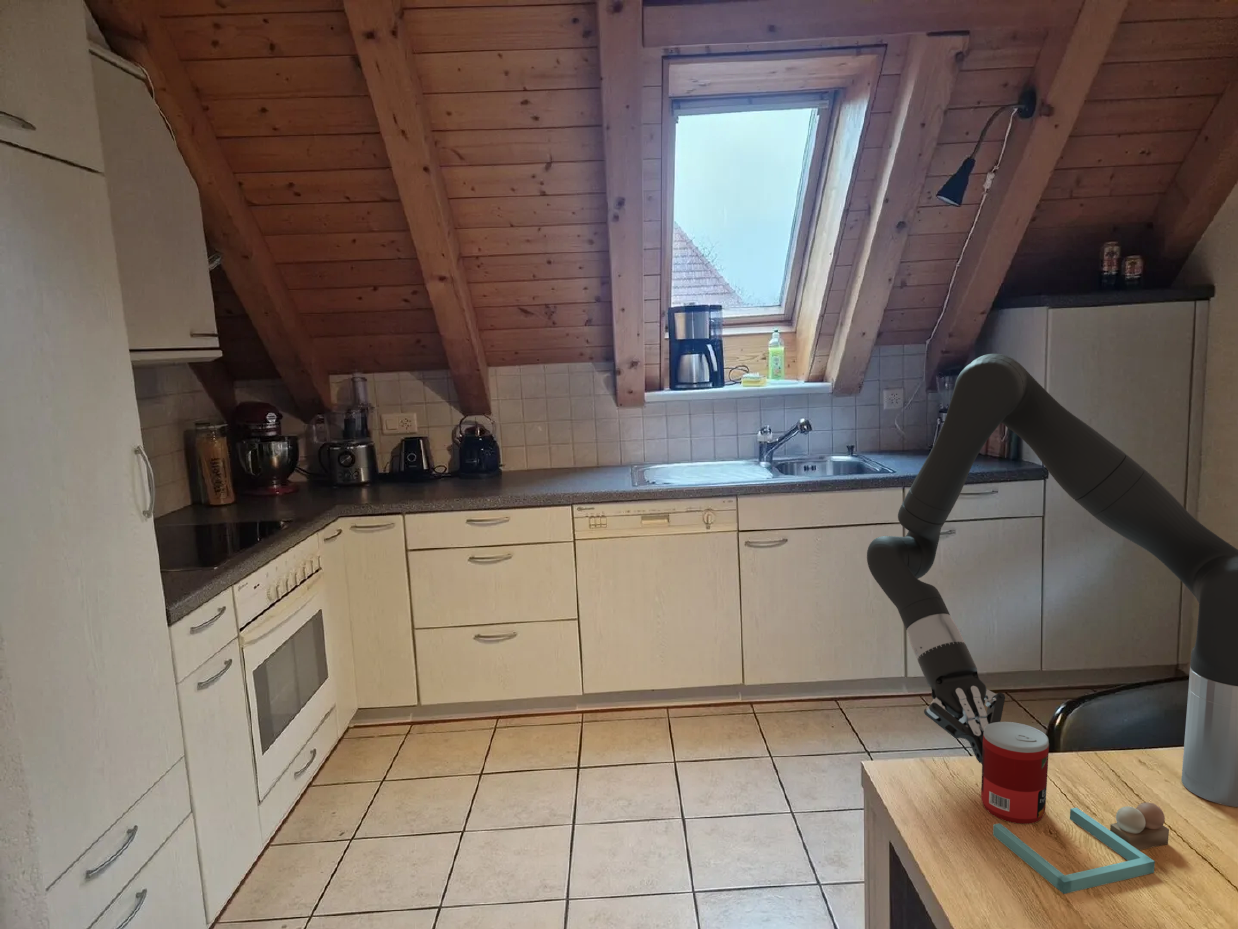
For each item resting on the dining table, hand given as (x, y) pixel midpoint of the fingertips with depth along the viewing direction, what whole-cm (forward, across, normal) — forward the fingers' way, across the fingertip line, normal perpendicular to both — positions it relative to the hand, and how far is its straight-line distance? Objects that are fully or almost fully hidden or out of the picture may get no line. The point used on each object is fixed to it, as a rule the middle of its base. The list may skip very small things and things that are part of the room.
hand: (991, 764), depth 117 cm
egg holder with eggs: (+14, +10, -8) cm, 19 cm away
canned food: (+6, 0, 0) cm, 6 cm away
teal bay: (+13, 0, -7) cm, 15 cm away
